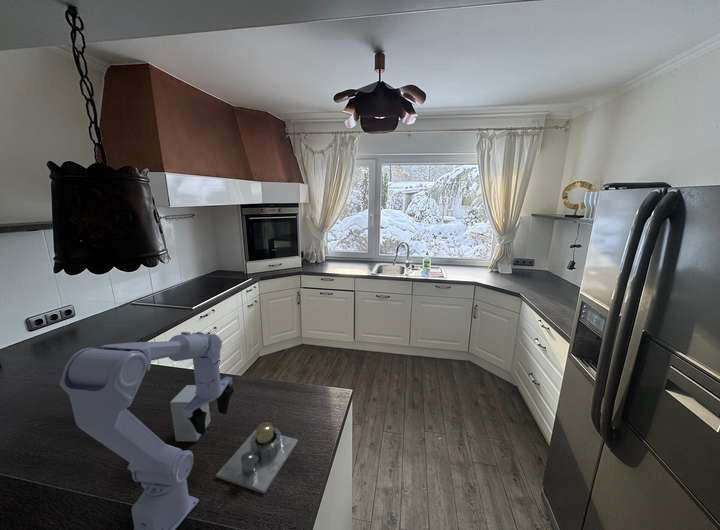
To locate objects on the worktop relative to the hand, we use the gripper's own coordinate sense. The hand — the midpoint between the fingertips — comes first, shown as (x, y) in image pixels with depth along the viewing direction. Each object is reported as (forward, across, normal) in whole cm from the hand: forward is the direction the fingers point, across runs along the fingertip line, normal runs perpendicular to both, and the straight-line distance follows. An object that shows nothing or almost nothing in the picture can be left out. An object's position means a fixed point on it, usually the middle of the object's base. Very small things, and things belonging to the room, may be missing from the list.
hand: (212, 422), depth 77 cm
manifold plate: (+9, -2, +13) cm, 16 cm away
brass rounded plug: (+9, -5, +13) cm, 16 cm away
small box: (+10, -4, -12) cm, 16 cm away
